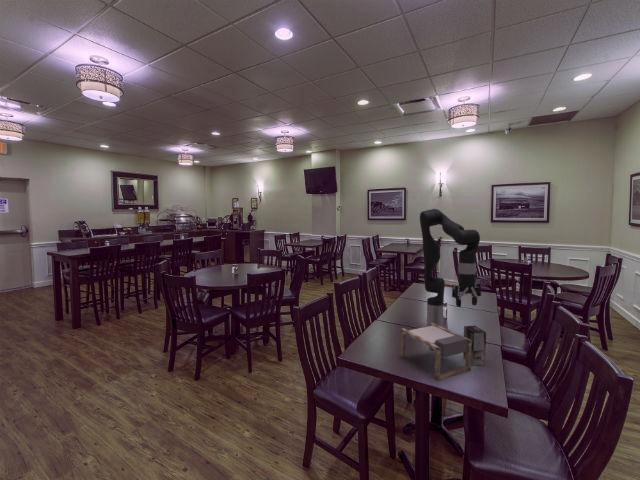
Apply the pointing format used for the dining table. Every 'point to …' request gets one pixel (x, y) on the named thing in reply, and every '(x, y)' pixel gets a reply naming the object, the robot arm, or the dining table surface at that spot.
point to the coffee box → (476, 344)
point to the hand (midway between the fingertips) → (466, 305)
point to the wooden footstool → (438, 352)
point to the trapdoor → (443, 340)
